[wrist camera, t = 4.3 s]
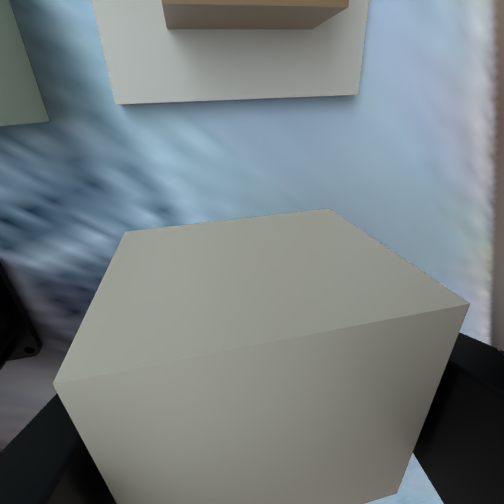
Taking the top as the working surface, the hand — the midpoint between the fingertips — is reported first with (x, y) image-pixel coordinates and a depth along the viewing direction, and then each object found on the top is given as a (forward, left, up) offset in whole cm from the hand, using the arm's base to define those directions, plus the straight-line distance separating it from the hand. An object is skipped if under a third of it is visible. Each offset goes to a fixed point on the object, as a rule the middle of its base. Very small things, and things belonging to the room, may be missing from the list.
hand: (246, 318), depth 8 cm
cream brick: (0, 0, -1) cm, 1 cm away
